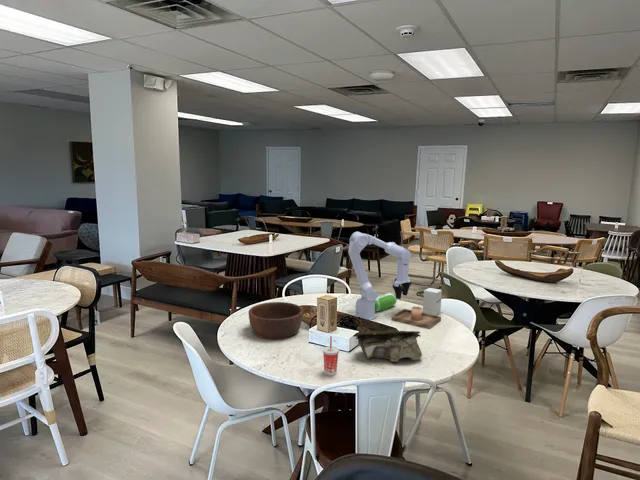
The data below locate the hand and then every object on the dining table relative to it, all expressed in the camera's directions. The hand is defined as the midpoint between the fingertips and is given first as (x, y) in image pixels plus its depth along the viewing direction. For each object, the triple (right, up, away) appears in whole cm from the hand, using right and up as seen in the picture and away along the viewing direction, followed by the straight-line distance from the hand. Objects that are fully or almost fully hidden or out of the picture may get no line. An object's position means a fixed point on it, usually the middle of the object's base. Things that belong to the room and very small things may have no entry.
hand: (401, 297), depth 217 cm
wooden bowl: (-63, -13, -23) cm, 68 cm away
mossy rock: (-15, -18, -49) cm, 54 cm away
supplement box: (+17, -9, +4) cm, 19 cm away
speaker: (-9, -8, +10) cm, 16 cm away
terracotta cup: (+6, -10, -7) cm, 14 cm away
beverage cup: (-39, -20, -62) cm, 76 cm away
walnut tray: (+6, -11, -7) cm, 14 cm away
